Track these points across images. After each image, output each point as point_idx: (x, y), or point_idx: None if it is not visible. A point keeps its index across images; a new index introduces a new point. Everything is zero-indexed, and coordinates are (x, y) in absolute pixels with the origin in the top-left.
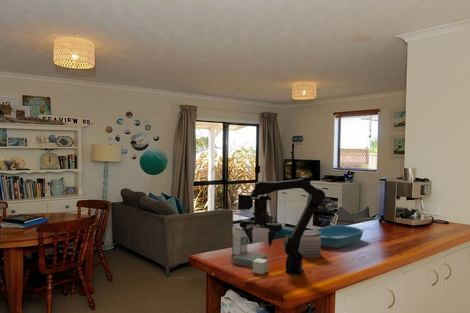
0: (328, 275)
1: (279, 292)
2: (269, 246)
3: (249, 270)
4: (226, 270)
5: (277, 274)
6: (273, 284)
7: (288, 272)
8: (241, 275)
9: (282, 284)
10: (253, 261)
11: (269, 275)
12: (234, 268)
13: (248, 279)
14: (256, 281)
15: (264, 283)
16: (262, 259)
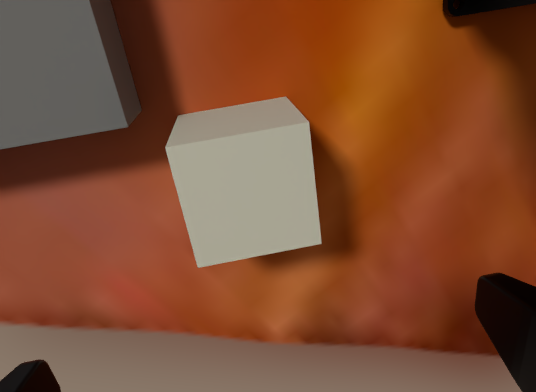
0: None
1: None
2: (484, 308)
3: (153, 200)
4: (21, 320)
5: (402, 116)
6: (455, 290)
7: (480, 11)
8: (191, 315)
9: (505, 255)
10: (208, 264)
11: (357, 181)
12: (19, 249)
13: (279, 332)
14: (341, 322)
15: (399, 313)
16: (245, 152)
